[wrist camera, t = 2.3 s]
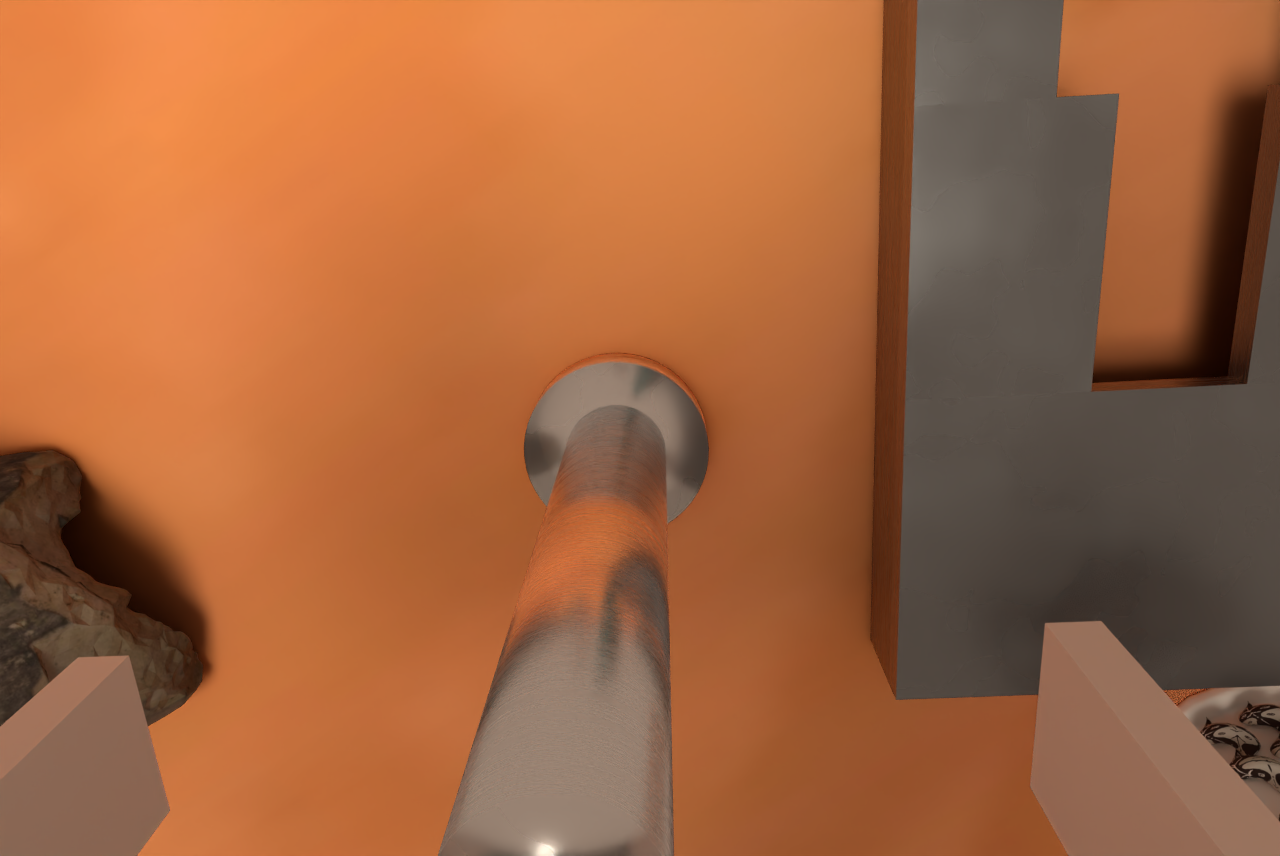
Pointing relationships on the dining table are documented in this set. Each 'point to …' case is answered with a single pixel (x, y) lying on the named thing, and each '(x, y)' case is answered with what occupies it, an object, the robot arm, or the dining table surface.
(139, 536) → the dining table surface
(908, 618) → the keyhole plate
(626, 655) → the steel peg
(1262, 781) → the decorative candle
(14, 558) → the fossil
